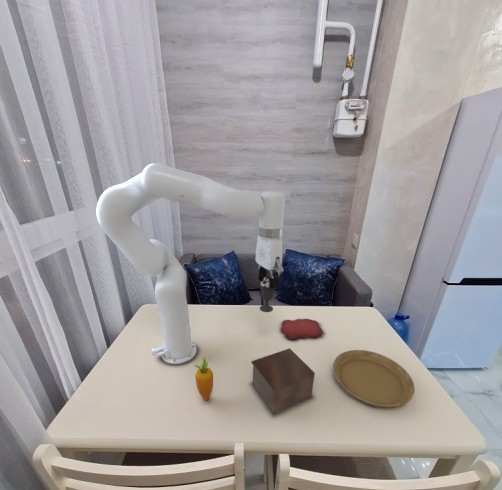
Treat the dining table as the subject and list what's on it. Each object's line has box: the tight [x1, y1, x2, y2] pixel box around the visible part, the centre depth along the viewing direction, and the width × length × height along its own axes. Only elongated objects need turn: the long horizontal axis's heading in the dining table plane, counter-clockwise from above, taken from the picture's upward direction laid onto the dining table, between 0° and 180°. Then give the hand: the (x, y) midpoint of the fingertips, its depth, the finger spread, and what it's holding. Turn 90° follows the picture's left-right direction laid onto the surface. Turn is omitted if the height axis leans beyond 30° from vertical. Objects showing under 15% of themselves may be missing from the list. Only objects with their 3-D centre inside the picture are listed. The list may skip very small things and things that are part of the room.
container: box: [252, 365, 316, 415], centre depth 80 cm, size 14×13×9 cm
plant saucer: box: [332, 349, 416, 409], centre depth 85 cm, size 24×24×3 cm
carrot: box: [193, 357, 214, 402], centre depth 75 cm, size 5×5×15 cm
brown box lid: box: [250, 347, 316, 392], centre depth 78 cm, size 14×13×1 cm
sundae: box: [258, 275, 276, 313], centre depth 92 cm, size 7×7×15 cm
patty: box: [280, 318, 324, 341], centre depth 112 cm, size 18×14×2 cm
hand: (267, 283), depth 91 cm, fingers closed on sundae, 6 cm apart
